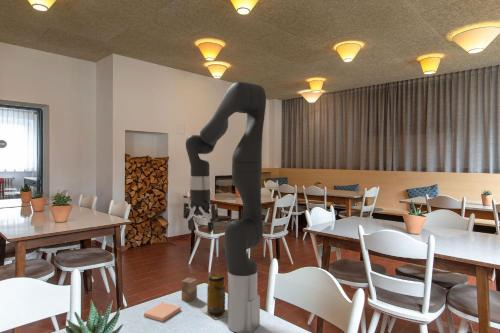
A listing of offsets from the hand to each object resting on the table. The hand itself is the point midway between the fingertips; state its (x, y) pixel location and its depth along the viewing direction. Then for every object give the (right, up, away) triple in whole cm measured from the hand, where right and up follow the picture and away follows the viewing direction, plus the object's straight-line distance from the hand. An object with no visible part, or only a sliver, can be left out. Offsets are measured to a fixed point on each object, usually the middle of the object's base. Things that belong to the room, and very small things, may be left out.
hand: (200, 231), depth 122 cm
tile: (-9, -25, -9) cm, 28 cm away
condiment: (+7, -26, -12) cm, 29 cm away
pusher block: (-4, -25, -2) cm, 25 cm away
